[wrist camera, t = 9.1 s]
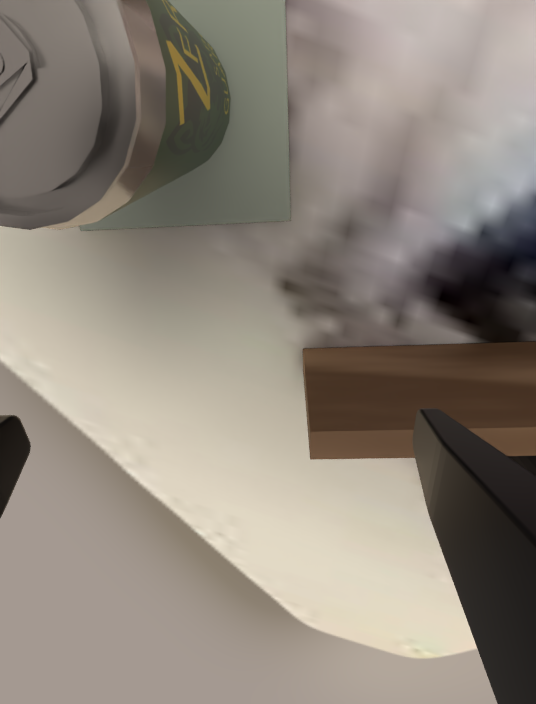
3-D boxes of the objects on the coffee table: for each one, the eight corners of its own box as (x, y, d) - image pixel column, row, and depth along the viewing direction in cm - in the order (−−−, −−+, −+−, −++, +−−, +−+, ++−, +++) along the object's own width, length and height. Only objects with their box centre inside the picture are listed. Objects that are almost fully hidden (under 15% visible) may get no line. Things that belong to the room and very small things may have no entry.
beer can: (167, 198, 19) (22, 296, 8) (74, 88, 17) (-273, 34, 6) (259, 114, 17) (222, 102, 7) (167, -20, 15) (-98, -342, 5)
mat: (290, 219, 19) (290, 220, 19) (84, 229, 20) (80, 230, 20) (283, -72, 15) (283, -77, 14) (10, -49, 15) (4, -53, 15)
